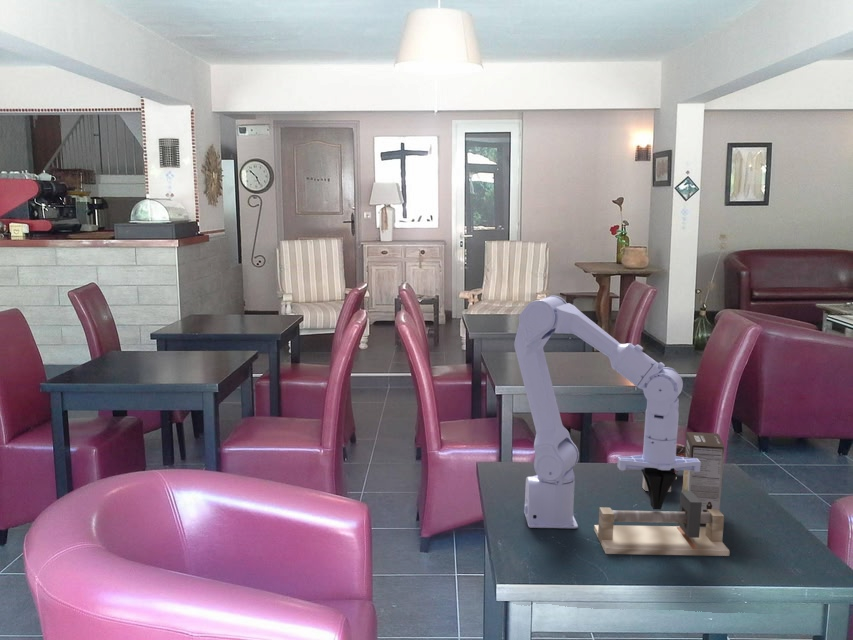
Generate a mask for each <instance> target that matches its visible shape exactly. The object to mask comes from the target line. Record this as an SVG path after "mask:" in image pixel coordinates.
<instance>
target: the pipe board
mask: <svg viewBox="0 0 853 640" xmlns="http://www.w3.org/2000/svg"><path fill="white" fill-rule="evenodd" d="M598 511H599V512H598V524H594V525H593V531H594V533H595V535H596V537H597V539H598V541H599V543H600V545H601V547H602V549H603V551H604V553H605V554H607V555H650V556H651V555H652V556H653V555H657V556H705V557H706V556H707V557H708V556H712V557H713V556H715V557H718V556H719V557H721V556H722V557H723V556H724V557H730V549H729V548H728V547H727V546H726V545H725V543H724V542H723V537H724V536H723V534H724V523H725V515H724V514H723V513H722V512H721V510H720V511H719V510H718V509H707V512H701V519H700V524H702V523H706V524H705V526H700V532H699V538H689V537H687V535H686V534H685V533H684V532H683V530H682V529H681V528H680V526H679V525H676V526H675V525H673V526H671V525H626V524H625V525H619V524H618V525H617V524H616V525H615V524H614V522H619V523H621V522H622V523H666V524H667V523H669V524H670V523H673V524H677V523H678V524H679V523H686V524H687V512H686V511H685V512H679V511H672V510H670V511H666V510H663V511H662V510H618V509H617V510H614V509H612V507H605V506H604V507H599V509H598Z"/></svg>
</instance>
